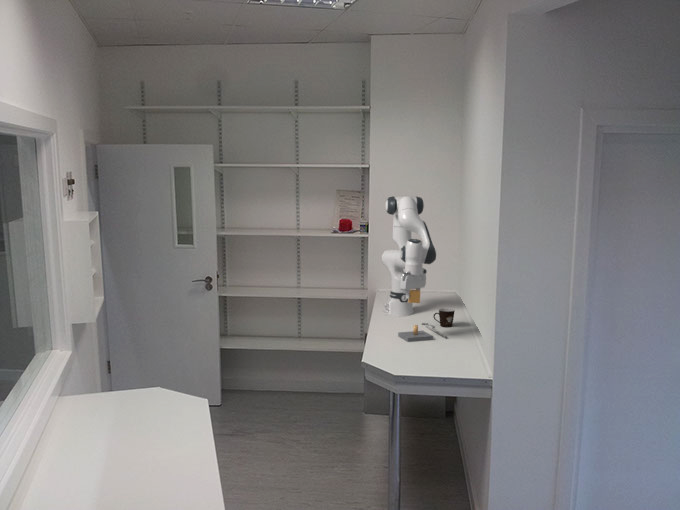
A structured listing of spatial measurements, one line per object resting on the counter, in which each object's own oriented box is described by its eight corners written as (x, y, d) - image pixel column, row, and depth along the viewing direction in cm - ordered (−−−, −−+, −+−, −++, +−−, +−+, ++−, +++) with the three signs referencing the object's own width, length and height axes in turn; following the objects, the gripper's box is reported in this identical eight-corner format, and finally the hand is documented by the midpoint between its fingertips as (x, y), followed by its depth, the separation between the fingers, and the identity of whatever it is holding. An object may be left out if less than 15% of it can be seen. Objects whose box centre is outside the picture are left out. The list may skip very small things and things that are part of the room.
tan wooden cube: (408, 300, 305) (408, 289, 305) (419, 301, 305) (419, 290, 304) (408, 302, 300) (409, 290, 299) (419, 303, 299) (420, 291, 299)
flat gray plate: (398, 336, 305) (398, 323, 305) (422, 334, 310) (422, 322, 309) (407, 341, 294) (408, 329, 293) (433, 339, 298) (433, 327, 298)
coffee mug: (453, 326, 329) (453, 308, 328) (454, 329, 321) (455, 311, 320) (432, 325, 330) (432, 308, 329) (433, 329, 322) (433, 311, 321)
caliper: (428, 327, 330) (420, 325, 328) (429, 323, 330) (422, 321, 328) (452, 341, 302) (444, 339, 300) (454, 337, 302) (445, 334, 300)
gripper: (408, 272, 291) (407, 300, 292) (428, 270, 307) (427, 296, 309) (397, 271, 295) (396, 299, 296) (417, 269, 311) (416, 295, 312)
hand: (412, 297), depth 302 cm, fingers closed on tan wooden cube, 7 cm apart
